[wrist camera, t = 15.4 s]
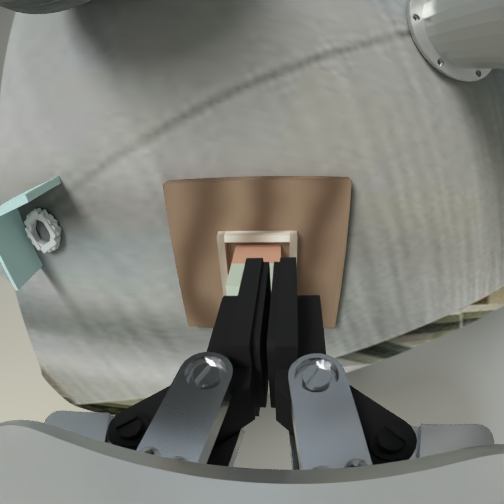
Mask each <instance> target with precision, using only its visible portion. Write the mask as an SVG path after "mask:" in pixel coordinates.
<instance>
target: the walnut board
mask: <svg viewBox="0 0 504 504" xmlns="http://www.w3.org/2000/svg"><path fill="white" fill-rule="evenodd" d="M351 184H352V181H351V180H350V178H349V177H321V176H262V177H226V178H203V179H186V180H171V181H166V182H165V183H164V184H163V189H164V196H165V203H166V210H167V216H168V222H169V228H170V234H171V240H172V246H173V252H174V257H175V262H176V268H177V273H178V278H179V283H180V288H181V293H182V298H183V303H184V307H185V312H186V316H187V321H188V325H189V326H195V327H214V325H215V321H216V318H217V314H218V311H219V307H220V304H221V301H222V298H223V296H227V293H226V283H227V279H228V275H229V271H230V267H231V263H232V259H233V255H234V251H235V247H236V245H281V257H296V265H297V295H320V300H321V309H322V319H323V328H335V324H336V318H337V312H338V305H339V299H340V292H341V284H342V277H343V269H344V261H345V252H346V243H347V233H348V223H349V211H350V199H351Z"/></svg>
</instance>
